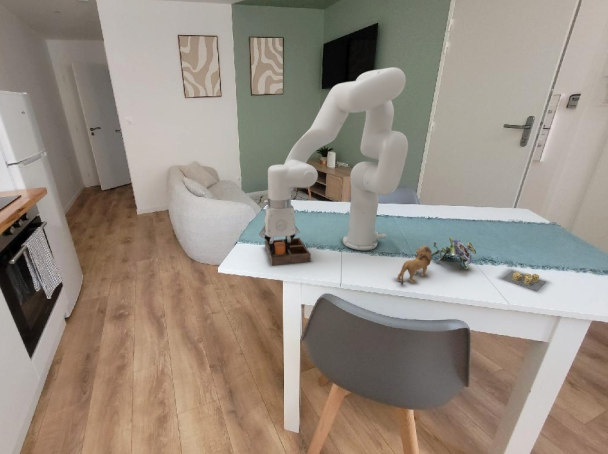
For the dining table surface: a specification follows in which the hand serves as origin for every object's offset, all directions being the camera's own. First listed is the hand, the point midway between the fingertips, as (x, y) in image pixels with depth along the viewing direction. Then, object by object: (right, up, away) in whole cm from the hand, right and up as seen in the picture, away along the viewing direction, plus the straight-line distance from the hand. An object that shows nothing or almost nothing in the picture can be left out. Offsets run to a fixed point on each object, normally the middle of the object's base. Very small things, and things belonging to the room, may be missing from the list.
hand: (279, 251), depth 103 cm
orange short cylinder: (0, 0, 0) cm, 0 cm away
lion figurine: (+40, -7, -12) cm, 43 cm away
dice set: (+71, -8, -17) cm, 74 cm away
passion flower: (+56, -4, -7) cm, 56 cm away
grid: (+3, -2, +5) cm, 6 cm away
